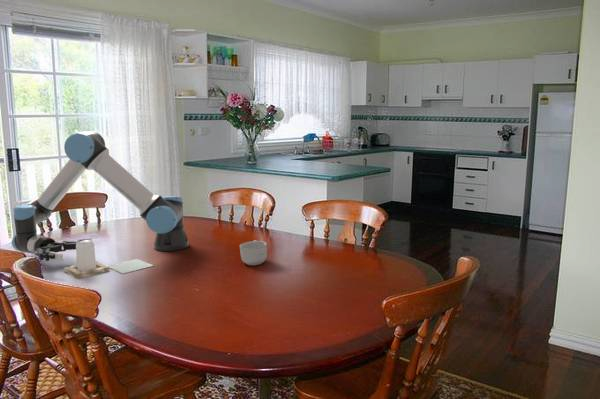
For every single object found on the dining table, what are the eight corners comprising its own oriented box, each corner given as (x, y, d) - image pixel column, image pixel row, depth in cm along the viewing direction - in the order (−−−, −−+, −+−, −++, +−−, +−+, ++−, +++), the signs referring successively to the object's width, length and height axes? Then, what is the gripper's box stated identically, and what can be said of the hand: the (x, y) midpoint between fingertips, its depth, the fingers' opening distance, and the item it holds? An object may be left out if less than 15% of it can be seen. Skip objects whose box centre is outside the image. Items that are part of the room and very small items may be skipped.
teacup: (263, 268, 193) (262, 248, 192) (236, 266, 195) (235, 246, 194) (272, 257, 207) (271, 239, 205) (247, 256, 209) (246, 237, 207)
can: (100, 269, 192) (97, 239, 190) (86, 274, 187) (83, 243, 184) (87, 267, 195) (85, 237, 193) (74, 272, 189) (71, 241, 187)
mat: (137, 259, 205) (136, 258, 205) (153, 266, 196) (153, 265, 196) (106, 266, 196) (106, 266, 196) (122, 274, 187) (122, 273, 187)
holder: (95, 264, 199) (95, 260, 199) (109, 270, 191) (109, 267, 191) (64, 271, 190) (64, 267, 190) (78, 278, 182) (77, 274, 182)
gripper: (70, 247, 212) (104, 254, 202) (13, 263, 191) (48, 271, 181) (68, 230, 211) (103, 236, 201) (11, 244, 190) (46, 251, 180)
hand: (77, 252), depth 191 cm, fingers open, 13 cm apart
